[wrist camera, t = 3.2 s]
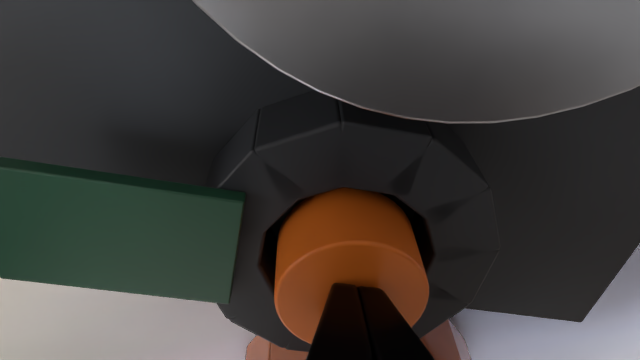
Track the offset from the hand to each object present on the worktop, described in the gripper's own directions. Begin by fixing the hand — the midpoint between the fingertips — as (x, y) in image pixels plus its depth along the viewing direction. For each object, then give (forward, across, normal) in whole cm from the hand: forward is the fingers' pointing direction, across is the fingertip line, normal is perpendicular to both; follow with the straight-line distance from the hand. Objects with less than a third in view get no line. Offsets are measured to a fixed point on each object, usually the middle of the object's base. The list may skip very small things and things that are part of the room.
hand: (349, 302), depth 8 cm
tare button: (+2, 0, 0) cm, 2 cm away
